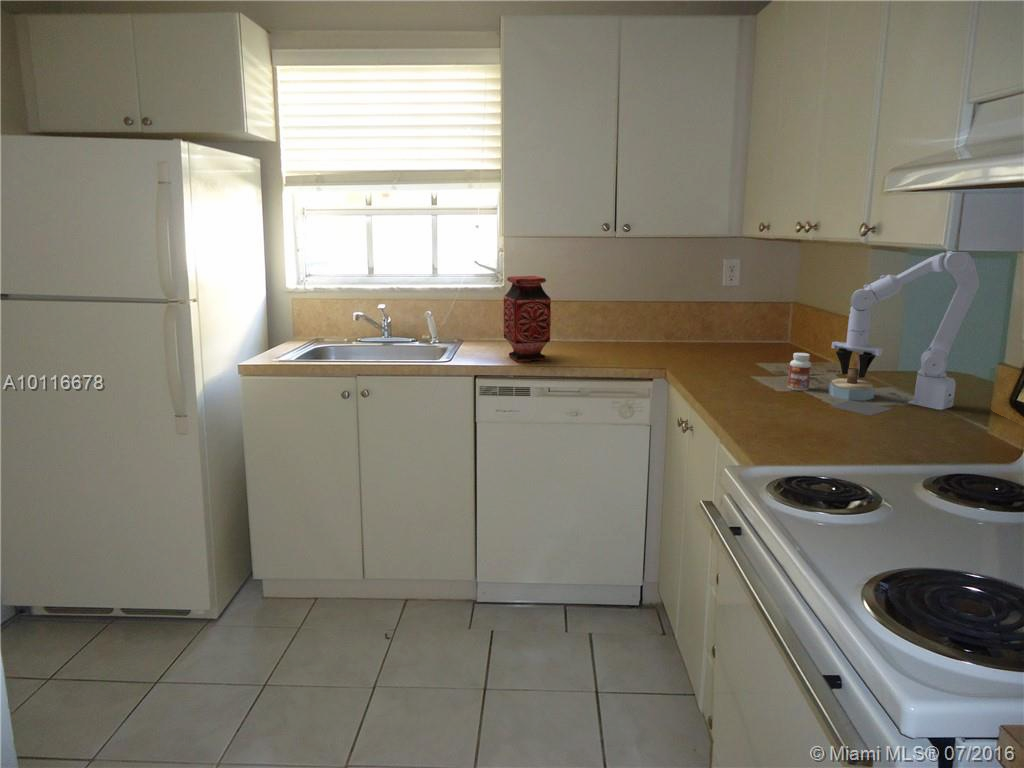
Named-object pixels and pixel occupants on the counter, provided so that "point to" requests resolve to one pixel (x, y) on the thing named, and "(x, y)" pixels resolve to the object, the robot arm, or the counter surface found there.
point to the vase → (527, 318)
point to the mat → (860, 407)
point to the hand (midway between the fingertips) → (853, 375)
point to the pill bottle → (799, 372)
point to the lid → (852, 381)
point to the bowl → (851, 393)
